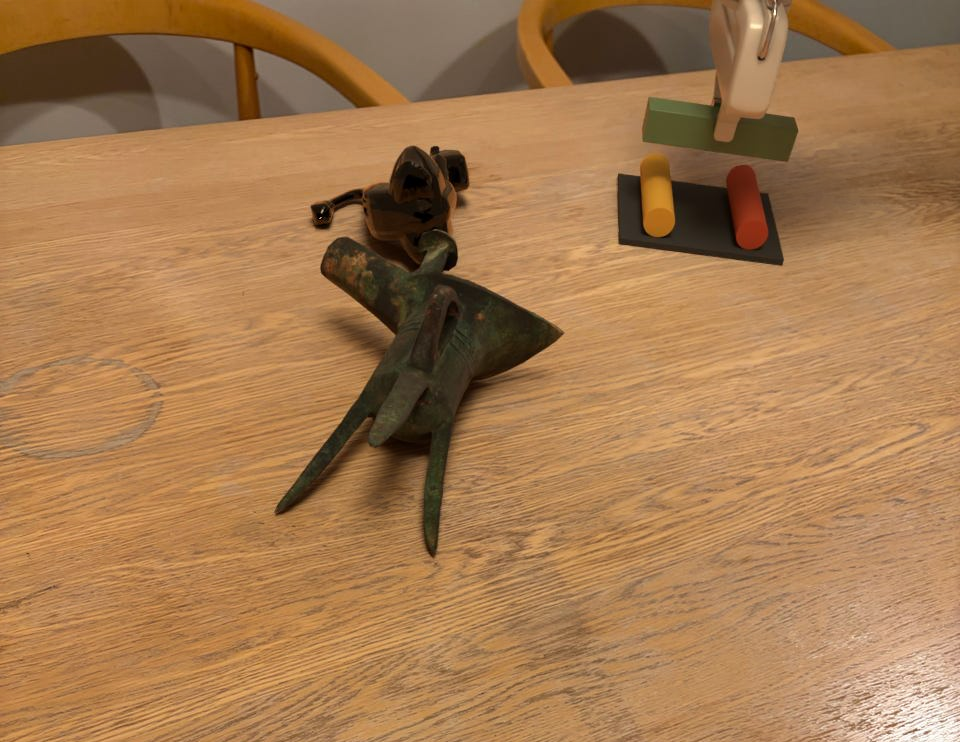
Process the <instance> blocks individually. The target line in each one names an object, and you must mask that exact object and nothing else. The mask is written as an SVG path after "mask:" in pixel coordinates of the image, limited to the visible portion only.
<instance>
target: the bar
mask: <svg viewBox="0 0 960 742" xmlns="http://www.w3.org/2000/svg"><path fill="white" fill-rule="evenodd" d="M719 110H720V107H718V106H711V104H703V103H697V102H690V101H684V100H683V101H682V100H675V99H669V98H661V97H655V96H648V98H647V103H646V107H645V111H644V117H643V120H642V121H643V122H642V125H641V135H642V136H641V139H642V142H643V143H648V144H655V145H664V146H668V147H669V146H671V147H677V148H685V149H690V150H691V149H692V150H699V151H705V152H713V153H718V154H719V153H720V154H725V155H734V156H740V157H746V158H747V157H748V158H755V159H761V160H770V161H774V162H775V161H776V162H783V163H789V161H790V158H791V155H792V153H793V150H794V146H795V143H796V140H797V136H798V133H799V127H798V124H797V121H796V118H795V117H794V116H787V115H781V114H772V113H768V112H766V114H765V115H764V117H763V118H761V119H750V118H742V117H741V118H740V120H739V122H738V123H737V126H736V130H735V133H734V137H733V139H732V141H730V142H722V141H716V140H715V139H714V133H713V128H714V125H715V120H716V116H717V114H719Z"/></svg>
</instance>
